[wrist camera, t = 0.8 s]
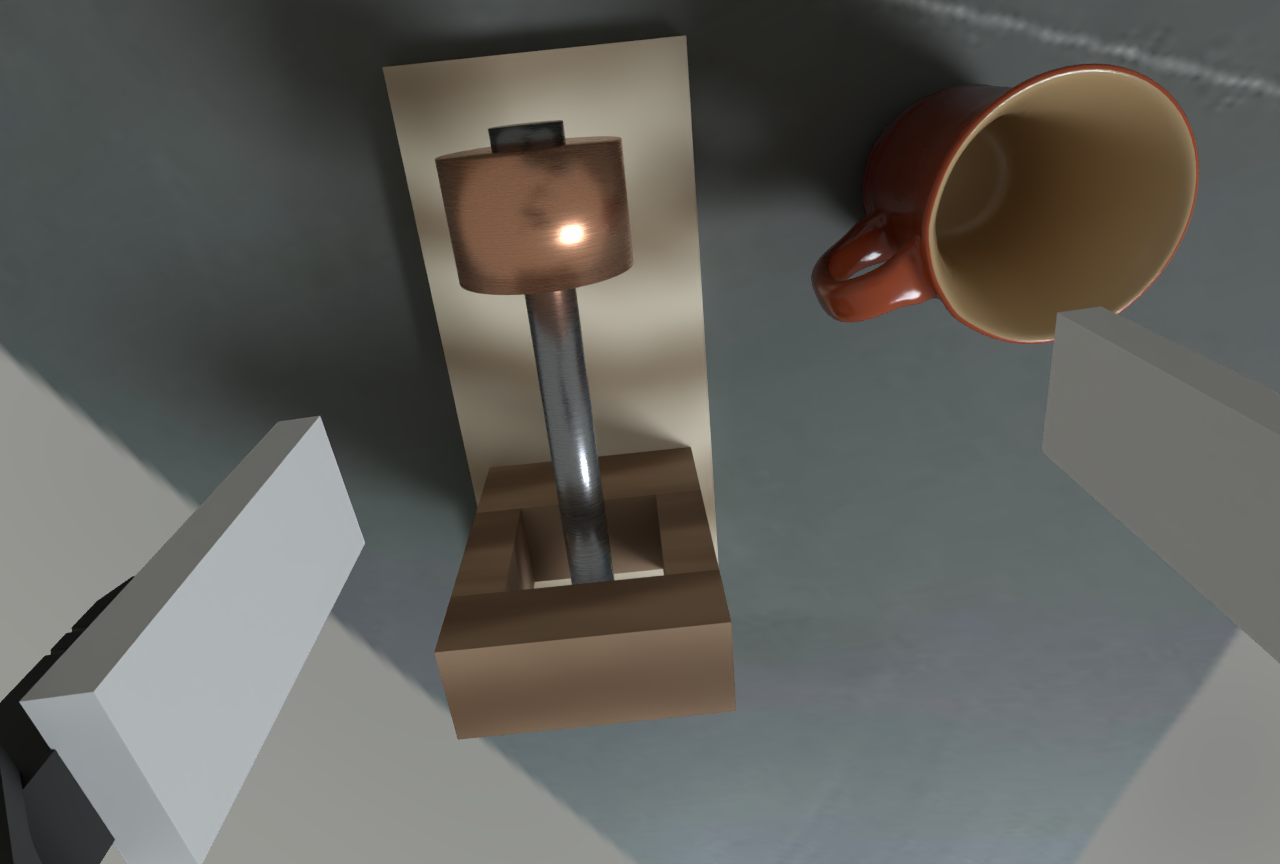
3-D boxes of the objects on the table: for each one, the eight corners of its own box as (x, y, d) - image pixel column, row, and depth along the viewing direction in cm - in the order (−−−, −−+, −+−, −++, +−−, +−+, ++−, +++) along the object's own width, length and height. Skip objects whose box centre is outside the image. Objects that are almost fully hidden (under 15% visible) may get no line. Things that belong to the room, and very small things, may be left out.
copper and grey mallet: (449, 128, 27) (410, 141, 21) (617, 111, 27) (620, 119, 21) (548, 652, 37) (538, 751, 32) (670, 639, 37) (681, 736, 32)
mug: (1004, 26, 31) (1172, 4, 22) (1056, 218, 35) (1221, 271, 25) (739, 169, 33) (791, 205, 24) (813, 338, 37) (884, 426, 27)
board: (390, 67, 31) (382, 67, 30) (683, 36, 31) (686, 35, 30) (500, 586, 42) (497, 600, 41) (716, 564, 42) (719, 577, 41)
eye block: (489, 467, 37) (434, 652, 25) (691, 446, 37) (731, 622, 25) (503, 535, 39) (457, 739, 27) (696, 516, 39) (736, 711, 27)
